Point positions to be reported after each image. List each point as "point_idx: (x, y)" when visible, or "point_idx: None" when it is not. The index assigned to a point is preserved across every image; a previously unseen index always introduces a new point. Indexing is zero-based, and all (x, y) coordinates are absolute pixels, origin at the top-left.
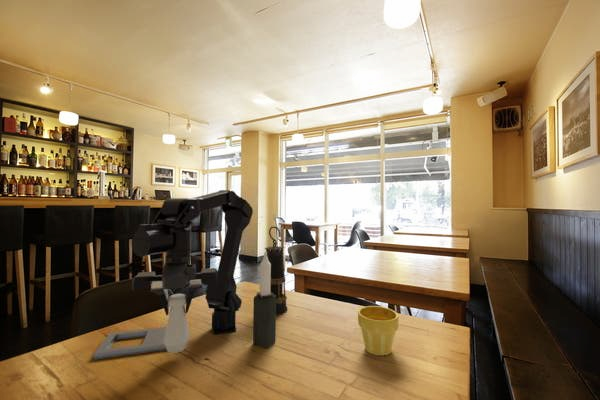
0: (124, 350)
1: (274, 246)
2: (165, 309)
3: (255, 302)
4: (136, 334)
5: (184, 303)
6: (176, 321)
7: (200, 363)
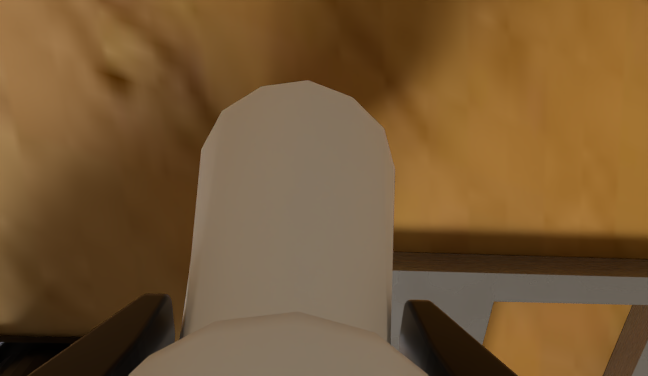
0: (575, 272)
1: None
2: (472, 351)
3: None
4: None
5: None
6: (290, 183)
7: (150, 37)
